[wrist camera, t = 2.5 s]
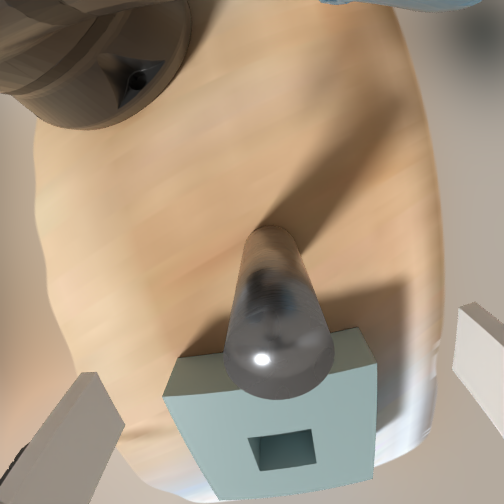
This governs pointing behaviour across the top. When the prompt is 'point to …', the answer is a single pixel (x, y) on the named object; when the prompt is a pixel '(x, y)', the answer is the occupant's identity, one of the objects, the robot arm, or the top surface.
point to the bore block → (279, 426)
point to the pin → (276, 322)
